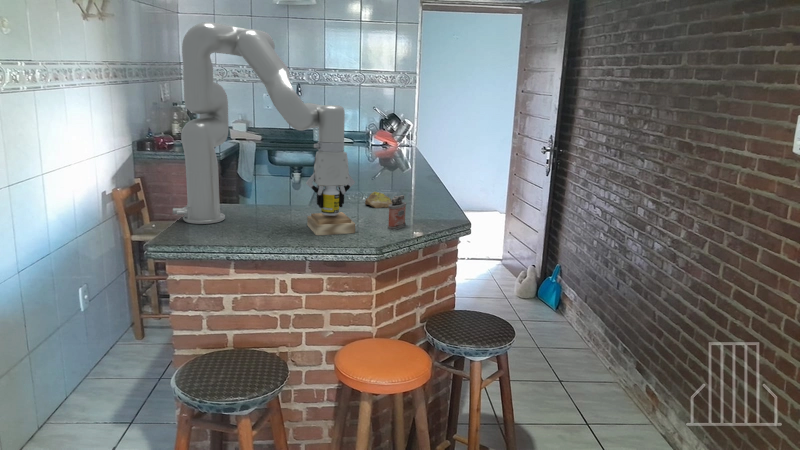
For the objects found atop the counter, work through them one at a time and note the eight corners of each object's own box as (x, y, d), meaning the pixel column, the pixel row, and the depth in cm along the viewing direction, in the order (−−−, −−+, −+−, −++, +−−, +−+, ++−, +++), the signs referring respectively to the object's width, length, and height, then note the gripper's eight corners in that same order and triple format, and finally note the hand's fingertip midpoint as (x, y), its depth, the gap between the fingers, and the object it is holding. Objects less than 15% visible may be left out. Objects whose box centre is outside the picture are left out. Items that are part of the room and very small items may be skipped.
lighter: (394, 230, 185) (395, 199, 183) (385, 228, 187) (386, 197, 184) (407, 225, 192) (409, 195, 189) (398, 223, 194) (400, 193, 191)
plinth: (316, 235, 176) (316, 222, 175) (307, 225, 187) (307, 213, 186) (355, 233, 180) (355, 220, 179) (344, 223, 191) (344, 211, 190)
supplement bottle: (336, 216, 179) (336, 184, 177) (318, 215, 180) (319, 183, 178) (341, 212, 185) (342, 181, 182) (324, 211, 186) (325, 180, 183)
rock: (366, 208, 224) (357, 201, 215) (373, 191, 225) (364, 183, 216) (396, 218, 220) (388, 212, 211) (402, 200, 221) (395, 193, 212)
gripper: (305, 149, 171) (305, 210, 175) (362, 149, 177) (360, 208, 182) (300, 145, 178) (300, 205, 182) (355, 145, 184) (353, 202, 188)
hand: (330, 206), depth 182 cm, fingers closed on supplement bottle, 5 cm apart
